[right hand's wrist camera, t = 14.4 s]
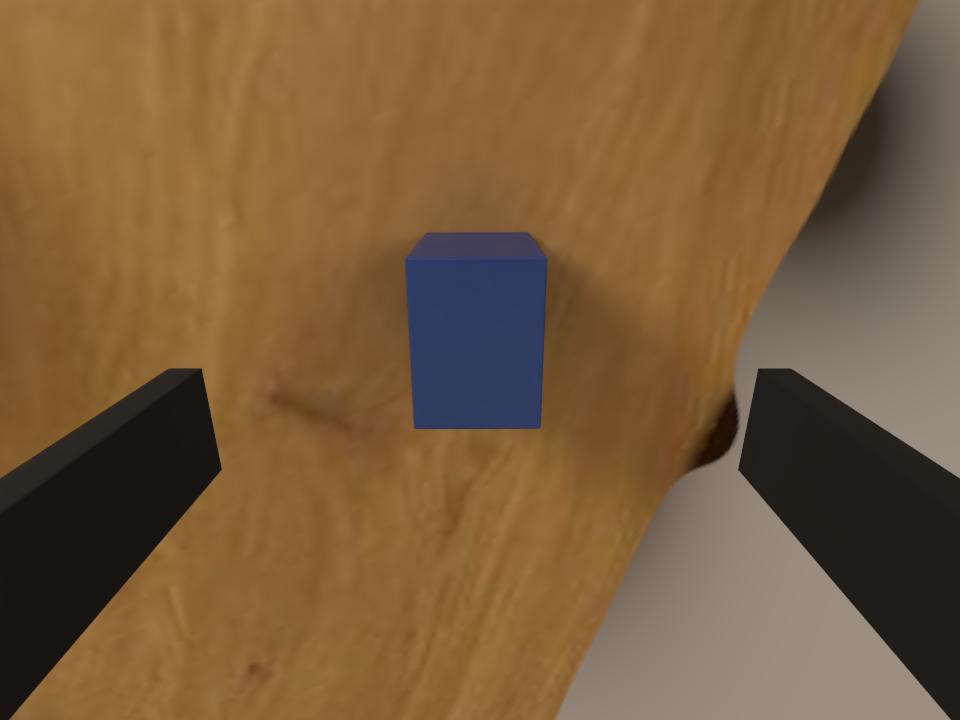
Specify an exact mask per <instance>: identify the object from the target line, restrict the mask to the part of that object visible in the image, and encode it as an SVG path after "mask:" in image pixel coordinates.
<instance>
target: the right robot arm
mask: <svg viewBox="0 0 960 720" xmlns="http://www.w3.org/2000/svg"><path fill="white" fill-rule="evenodd" d="M221 470H222V469H221V464H220V459H219V454H218V449H217V443H216V438H215V433H214V428H213V423H212V418H211V413H210V408H209V403H208V398H207V393H206V388H205V383H204V378H203V373H202V369H168V370H166V371H165V372H163V373H162V374H160V375H158V376H157V377H155V378H154V379H152V380H151V381H149V382H148V383H146V384H145V385H143V386H142V387H140V388H138V389H137V390H135V391H134V392H132V393H131V394H129V395H128V396H126V397H125V398H123V399H122V400H120V401H119V402H117V403H115V404H114V405H112V406H111V407H109V408H108V409H106V410H105V411H103V412H102V413H100V414H99V415H97V416H95V417H94V418H92V419H91V420H89V421H88V422H86V423H85V424H83V425H82V426H80V427H79V428H77V429H75V430H74V431H72V432H71V433H69V434H68V435H66V436H65V437H63V438H62V439H60V440H59V441H57V442H56V443H54V444H52V445H51V446H49V447H48V448H46V449H45V450H43V451H42V452H40V453H39V454H37V455H36V456H34V457H32V458H31V459H29V460H28V461H26V462H25V463H23V464H22V465H20V466H19V467H17V468H16V469H14V470H13V471H11V472H9V473H8V474H6V475H5V476H3V477H2V478H0V720H9V719H10V718H11V717H12V716H13V714H14V713H15V712H16V711H17V710H18V708H19V707H20V706H21V705H22V704H23V703H24V701H25V700H26V699H27V698H28V697H29V696H30V694H31V693H32V692H33V691H34V690H35V689H36V687H37V686H38V685H39V684H40V683H41V681H42V680H43V679H44V678H45V677H46V676H47V674H48V673H49V672H50V671H51V670H52V669H53V667H54V666H55V665H56V664H57V663H58V661H59V660H60V659H61V658H62V657H63V656H64V654H65V653H66V652H67V651H68V650H69V649H70V647H71V646H72V645H73V644H74V643H75V642H76V640H77V639H78V638H79V637H80V636H81V634H82V633H83V632H84V631H85V630H86V629H87V627H88V626H89V625H90V624H91V623H92V622H93V620H94V619H95V618H96V617H97V616H98V614H99V613H100V612H101V611H102V610H103V609H104V607H105V606H106V605H107V604H108V603H109V602H110V600H111V599H112V598H113V597H114V596H115V594H116V593H117V592H118V591H119V590H120V589H121V587H122V586H123V585H124V584H125V583H126V582H127V580H128V579H129V578H130V577H131V576H132V575H133V573H134V572H135V571H136V570H137V569H138V567H139V566H140V565H141V564H142V563H143V562H144V560H145V559H146V558H147V557H148V556H149V555H150V553H151V552H152V551H153V550H154V549H155V547H156V546H157V545H158V544H159V543H160V542H161V540H162V539H163V538H164V537H165V536H166V535H167V533H168V532H169V531H170V530H171V529H172V528H173V526H174V525H175V524H176V523H177V522H178V520H179V519H180V518H181V517H182V516H183V515H184V513H185V512H186V511H187V510H188V509H189V508H190V506H191V505H192V504H193V503H194V502H195V500H196V499H197V498H198V497H199V496H200V495H201V493H202V492H203V491H204V490H205V489H206V488H207V486H208V485H209V484H210V483H211V482H212V481H213V479H214V478H215V477H216V476H217V475H218V473H219V472H220V471H221ZM738 470H739V471H740V472H741V473H742V475H743V476H744V477H745V478H746V479H747V481H748V482H749V483H750V484H751V485H752V486H753V488H754V489H755V490H756V491H757V492H758V493H759V495H760V496H761V497H762V498H763V499H764V500H765V502H766V503H767V504H768V505H769V506H770V507H771V509H772V510H773V511H774V512H775V513H776V515H777V516H778V517H779V518H780V519H781V520H782V522H783V523H784V524H785V525H786V526H787V527H788V529H789V530H790V531H791V532H792V533H793V535H794V536H795V537H796V538H797V539H798V540H799V542H800V543H801V544H802V545H803V546H804V547H805V549H806V550H807V551H808V552H809V553H810V555H811V556H812V557H813V558H814V559H815V560H816V562H817V563H818V564H819V565H820V566H821V567H822V569H823V570H824V571H825V572H826V573H827V575H828V576H829V577H830V578H831V579H832V580H833V581H834V583H835V584H836V585H837V586H838V587H839V589H840V590H841V591H842V592H843V593H844V594H845V596H846V597H847V598H848V599H849V600H850V602H851V603H852V604H853V605H854V606H855V607H856V609H857V610H858V611H859V612H860V613H861V614H862V616H863V617H864V618H865V619H866V620H867V622H868V623H869V624H870V625H871V626H872V627H873V629H874V630H875V631H876V632H877V633H878V634H879V636H880V637H881V638H882V639H883V640H884V642H885V643H886V644H887V645H888V646H889V647H890V648H891V650H892V651H893V652H894V653H895V654H896V656H897V657H898V658H899V659H900V660H901V661H902V663H903V664H904V665H905V666H906V667H907V669H908V670H909V671H910V672H911V673H912V674H913V676H914V677H915V678H916V679H917V680H918V681H919V683H920V684H921V685H922V686H923V687H924V689H925V690H926V691H927V692H928V693H929V694H930V696H931V697H932V698H933V699H934V700H935V701H936V703H937V704H938V705H939V706H940V707H941V708H942V710H943V711H944V712H945V713H946V714H947V716H948V717H949V718H950V719H951V720H960V478H958V477H957V476H955V475H954V474H952V473H951V472H949V471H947V470H946V469H944V468H943V467H941V466H940V465H938V464H937V463H935V462H934V461H932V460H931V459H929V458H927V457H926V456H924V455H923V454H921V453H920V452H918V451H917V450H915V449H914V448H912V447H911V446H909V445H908V444H906V443H904V442H903V441H901V440H900V439H898V438H897V437H895V436H894V435H892V434H891V433H889V432H888V431H886V430H884V429H883V428H881V427H880V426H878V425H877V424H875V423H874V422H872V421H871V420H869V419H868V418H866V417H865V416H863V415H861V414H860V413H858V412H857V411H855V410H854V409H852V408H851V407H849V406H848V405H846V404H844V403H843V402H841V401H840V400H838V399H837V398H835V397H834V396H832V395H831V394H829V393H828V392H826V391H825V390H823V389H822V388H820V387H818V386H817V385H815V384H814V383H812V382H811V381H809V380H808V379H806V378H805V377H803V376H802V375H800V374H798V373H797V372H795V371H794V370H792V369H758V373H757V378H756V383H755V388H754V393H753V398H752V403H751V408H750V414H749V419H748V423H747V429H746V433H745V438H744V443H743V449H742V454H741V459H740V464H739V469H738Z"/></svg>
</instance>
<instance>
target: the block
mask: <svg viewBox="0 0 960 720" xmlns="http://www.w3.org/2000/svg"><path fill="white" fill-rule="evenodd" d="M405 270H406V289H407V307H408V326H409V345H410V363H411V382H412V401H413V419H414V428H415V429H539V428H540V427H541V403H542V378H543V352H544V327H545V302H546V276H547V258H546V256H545V255H544V253H543V252H542V251H541V249H540V248H539V247H538V245H537V244H536V243H535V241H534V240H533V239H532V237H531V236H530V235H529V233H527V232H516V233H426V235H425V236H424V237H423V238H422V239H421V240H420V242H419V243H418V244H417V245H416V246H415V248H414V249H413V250H412V251H411V252H410V254H409V255H408V256H407V257H406V258H405Z"/></svg>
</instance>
